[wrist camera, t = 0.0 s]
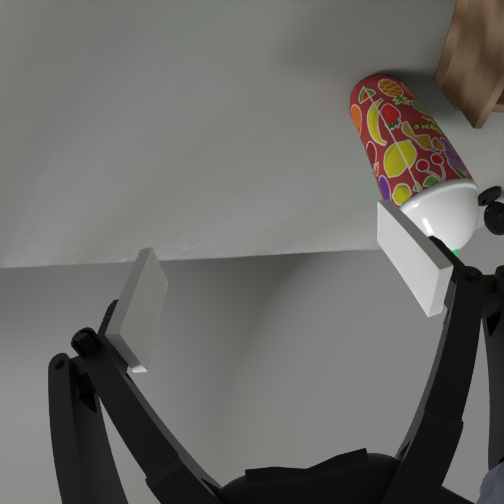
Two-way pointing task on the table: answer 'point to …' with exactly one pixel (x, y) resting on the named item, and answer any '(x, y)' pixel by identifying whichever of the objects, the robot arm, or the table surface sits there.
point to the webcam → (493, 210)
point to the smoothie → (415, 161)
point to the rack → (474, 60)
